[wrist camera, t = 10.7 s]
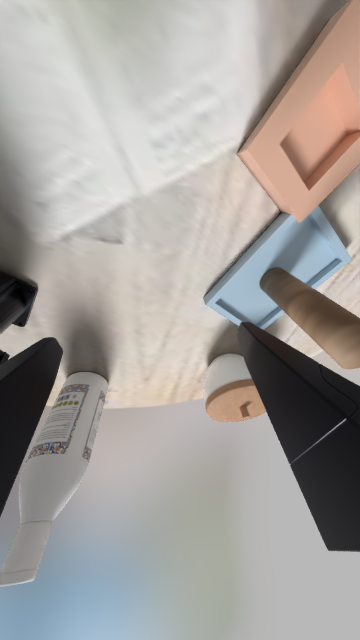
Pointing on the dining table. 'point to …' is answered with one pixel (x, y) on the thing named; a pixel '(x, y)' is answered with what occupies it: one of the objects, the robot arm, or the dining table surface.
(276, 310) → the tray
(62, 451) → the bath foam
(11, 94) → the dining table surface
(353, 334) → the peg
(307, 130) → the holder
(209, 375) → the lidded jar
